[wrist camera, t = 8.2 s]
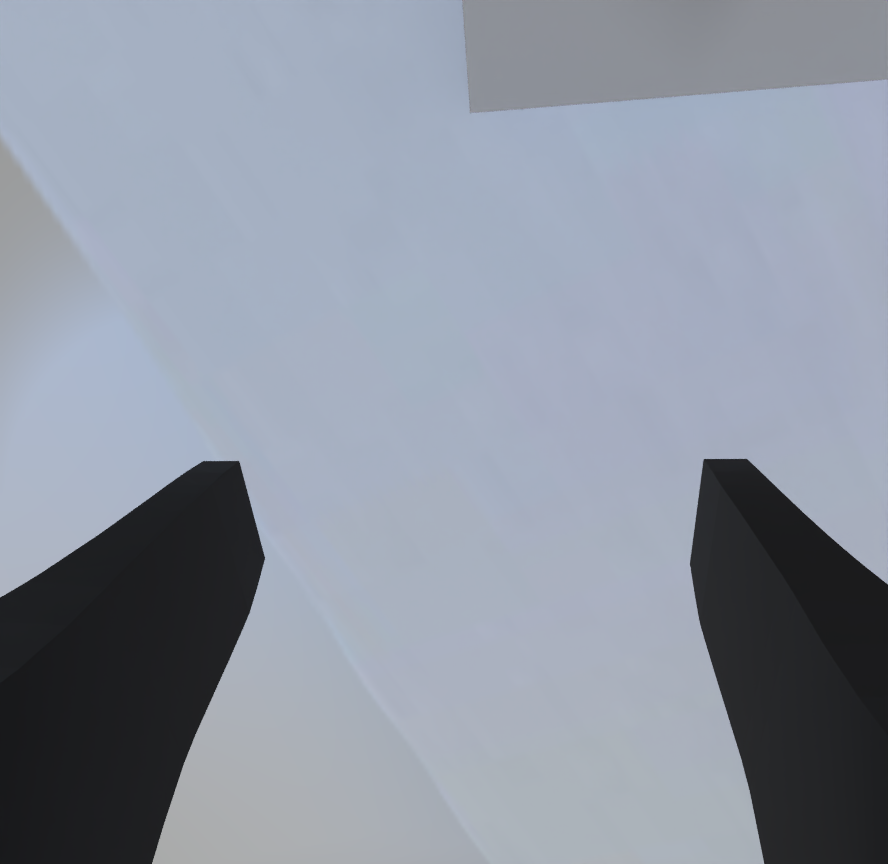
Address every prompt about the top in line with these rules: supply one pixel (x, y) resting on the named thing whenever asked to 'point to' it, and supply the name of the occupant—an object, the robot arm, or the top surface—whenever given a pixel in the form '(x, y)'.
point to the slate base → (664, 48)
